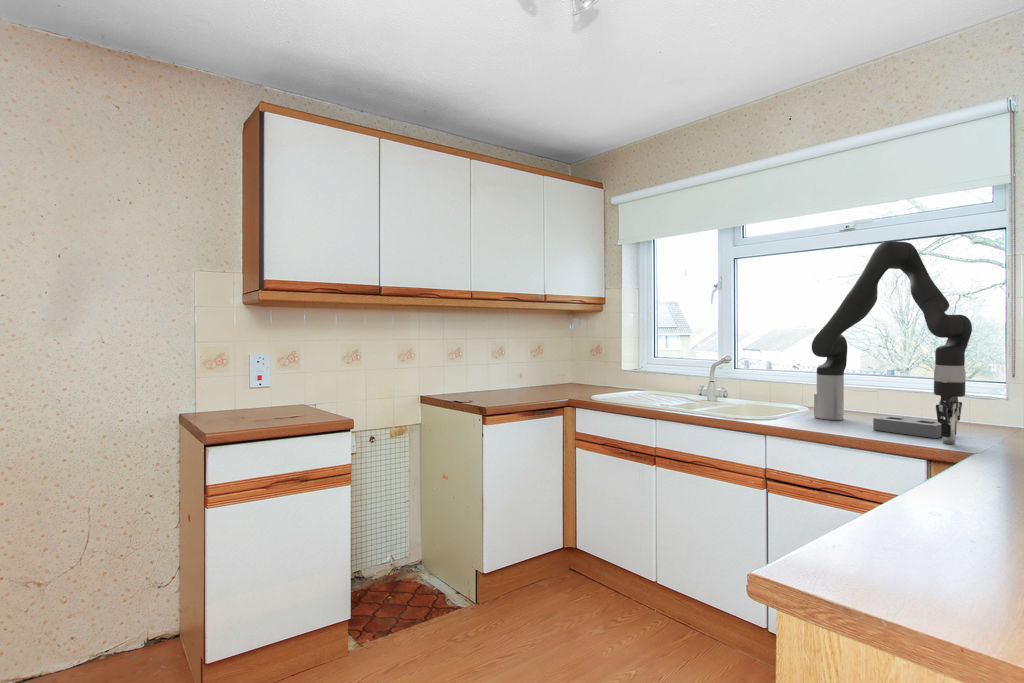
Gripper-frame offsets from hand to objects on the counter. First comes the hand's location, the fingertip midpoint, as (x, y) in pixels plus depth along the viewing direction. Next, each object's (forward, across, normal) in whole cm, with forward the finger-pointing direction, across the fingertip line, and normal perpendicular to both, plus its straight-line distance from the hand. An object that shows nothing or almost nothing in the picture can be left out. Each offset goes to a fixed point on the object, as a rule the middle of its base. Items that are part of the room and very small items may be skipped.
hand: (948, 435), depth 166 cm
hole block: (+2, -11, -14) cm, 18 cm away
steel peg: (+2, 0, 0) cm, 2 cm away
